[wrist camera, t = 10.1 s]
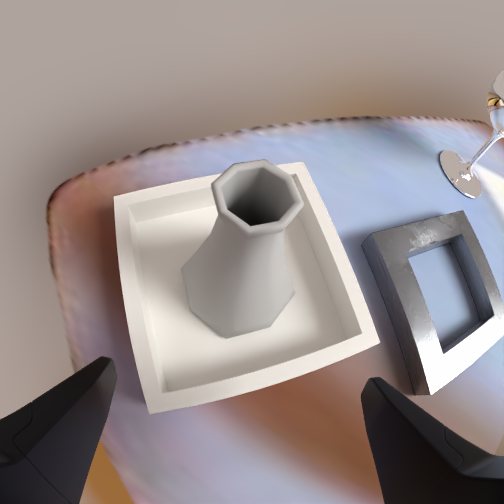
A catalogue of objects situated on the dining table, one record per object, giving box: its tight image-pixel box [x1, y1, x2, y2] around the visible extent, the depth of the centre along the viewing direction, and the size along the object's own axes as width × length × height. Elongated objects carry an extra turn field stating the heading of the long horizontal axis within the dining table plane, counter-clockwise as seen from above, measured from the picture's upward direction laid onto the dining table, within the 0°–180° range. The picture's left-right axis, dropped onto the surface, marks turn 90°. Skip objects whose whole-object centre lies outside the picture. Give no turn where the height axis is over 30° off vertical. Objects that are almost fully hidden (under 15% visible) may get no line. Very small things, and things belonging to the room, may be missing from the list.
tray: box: [114, 162, 380, 414], centre depth 18 cm, size 14×14×3 cm
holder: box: [361, 210, 504, 395], centre depth 20 cm, size 13×13×2 cm
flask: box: [181, 159, 304, 339], centre depth 15 cm, size 7×7×10 cm
